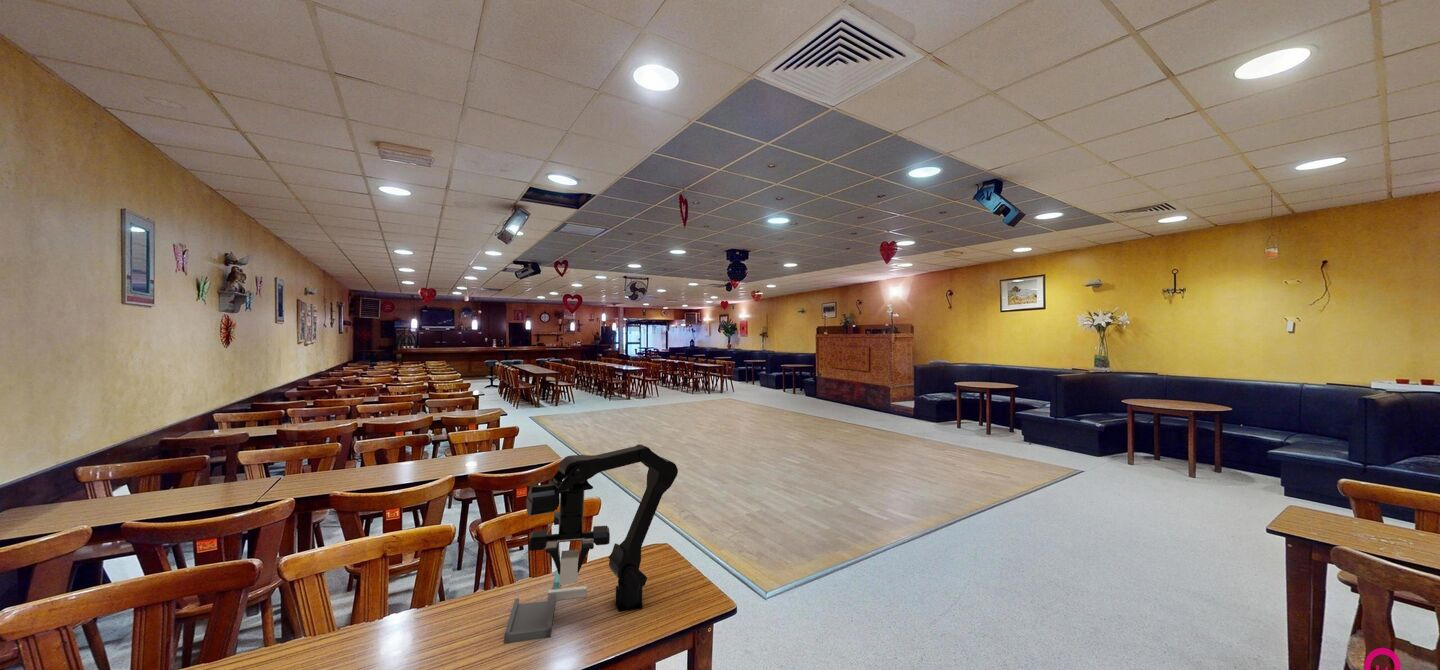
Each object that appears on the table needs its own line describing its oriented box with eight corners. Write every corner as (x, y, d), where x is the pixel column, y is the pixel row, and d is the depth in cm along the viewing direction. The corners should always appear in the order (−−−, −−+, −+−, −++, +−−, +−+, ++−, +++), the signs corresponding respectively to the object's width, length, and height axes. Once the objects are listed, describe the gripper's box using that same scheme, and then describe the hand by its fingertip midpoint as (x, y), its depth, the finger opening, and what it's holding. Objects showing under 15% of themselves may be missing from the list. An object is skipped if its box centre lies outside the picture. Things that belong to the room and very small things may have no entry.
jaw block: (577, 573, 118) (578, 549, 118) (577, 583, 113) (578, 558, 113) (560, 575, 117) (561, 550, 117) (559, 584, 112) (560, 559, 112)
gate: (587, 581, 135) (587, 567, 135) (586, 596, 127) (587, 581, 127) (550, 585, 132) (550, 571, 132) (547, 601, 124) (548, 586, 124)
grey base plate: (555, 601, 124) (555, 594, 124) (550, 638, 109) (550, 629, 109) (514, 606, 121) (515, 598, 122) (503, 644, 106) (504, 635, 106)
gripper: (608, 496, 126) (606, 555, 125) (534, 500, 121) (531, 562, 120) (611, 510, 115) (608, 574, 115) (530, 515, 110) (526, 582, 110)
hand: (568, 572), depth 115 cm, fingers closed on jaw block, 4 cm apart
